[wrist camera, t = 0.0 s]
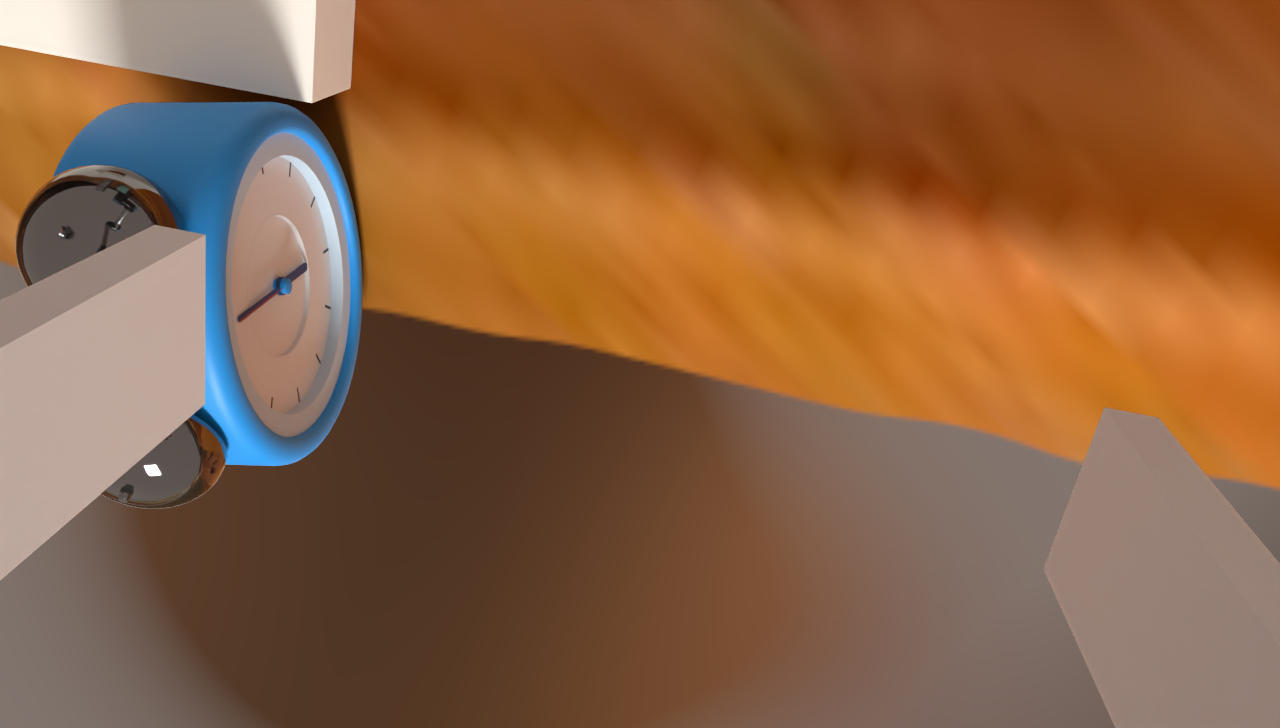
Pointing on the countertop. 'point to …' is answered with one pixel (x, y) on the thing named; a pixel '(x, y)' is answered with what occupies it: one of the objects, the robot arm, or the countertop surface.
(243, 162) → the alarm clock
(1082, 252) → the countertop surface
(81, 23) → the bore block
